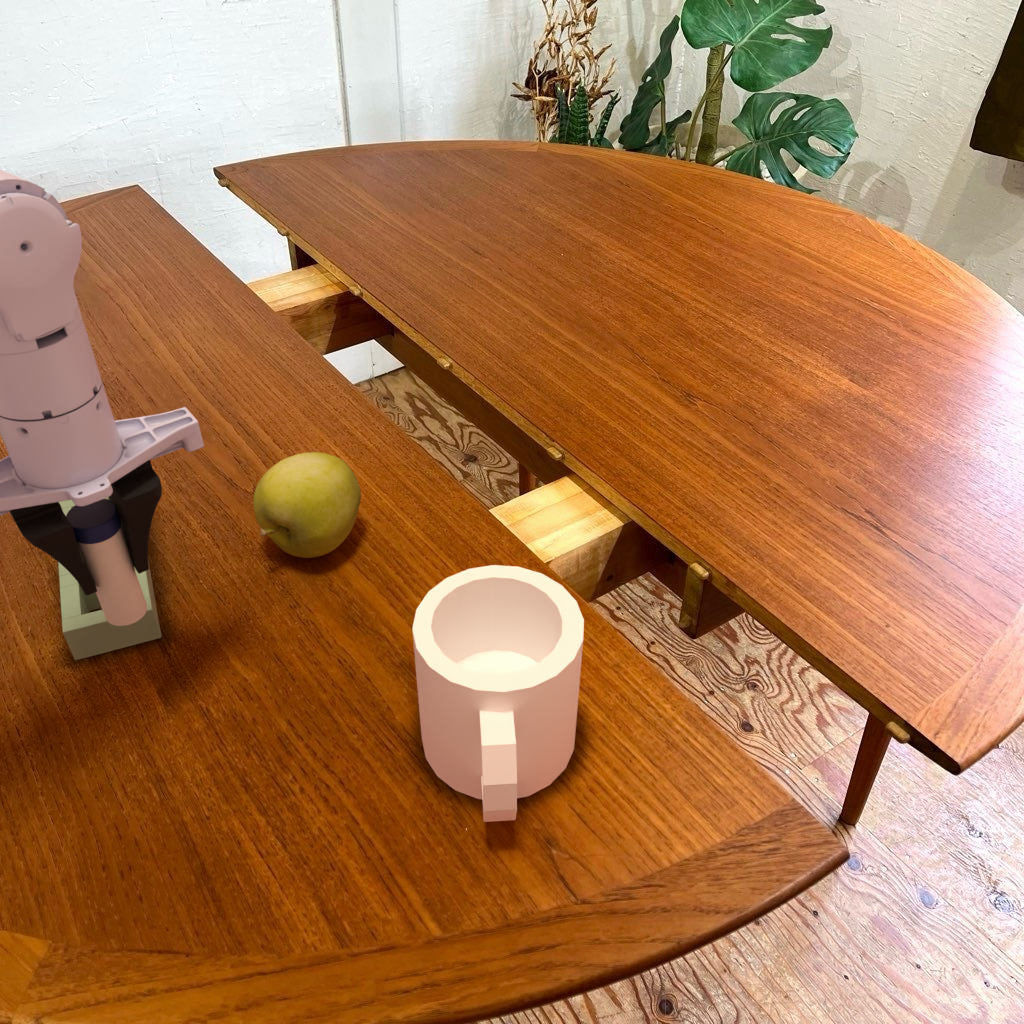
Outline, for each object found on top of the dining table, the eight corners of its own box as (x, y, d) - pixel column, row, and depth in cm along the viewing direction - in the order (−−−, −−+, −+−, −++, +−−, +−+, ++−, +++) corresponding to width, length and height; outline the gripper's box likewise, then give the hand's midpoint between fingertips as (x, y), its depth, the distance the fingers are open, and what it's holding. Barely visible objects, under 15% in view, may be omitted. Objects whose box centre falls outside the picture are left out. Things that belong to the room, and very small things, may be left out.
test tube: (112, 634, 61) (74, 536, 55) (96, 608, 63) (58, 510, 57) (156, 614, 62) (123, 516, 57) (140, 589, 64) (106, 491, 59)
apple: (238, 563, 76) (219, 484, 71) (305, 498, 82) (292, 421, 77) (320, 594, 74) (306, 515, 68) (383, 524, 80) (375, 447, 75)
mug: (592, 844, 58) (604, 736, 51) (422, 855, 57) (411, 747, 50) (565, 670, 68) (573, 561, 61) (421, 678, 67) (412, 568, 60)
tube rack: (161, 637, 70) (152, 609, 68) (74, 661, 68) (62, 632, 66) (140, 511, 81) (131, 483, 79) (64, 528, 79) (53, 500, 77)
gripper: (-84, 478, 46) (10, 666, 54) (204, 380, 52) (246, 561, 61) (-115, 410, 50) (-23, 595, 59) (155, 328, 57) (201, 504, 65)
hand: (112, 573), depth 60 cm, fingers closed on test tube, 3 cm apart
